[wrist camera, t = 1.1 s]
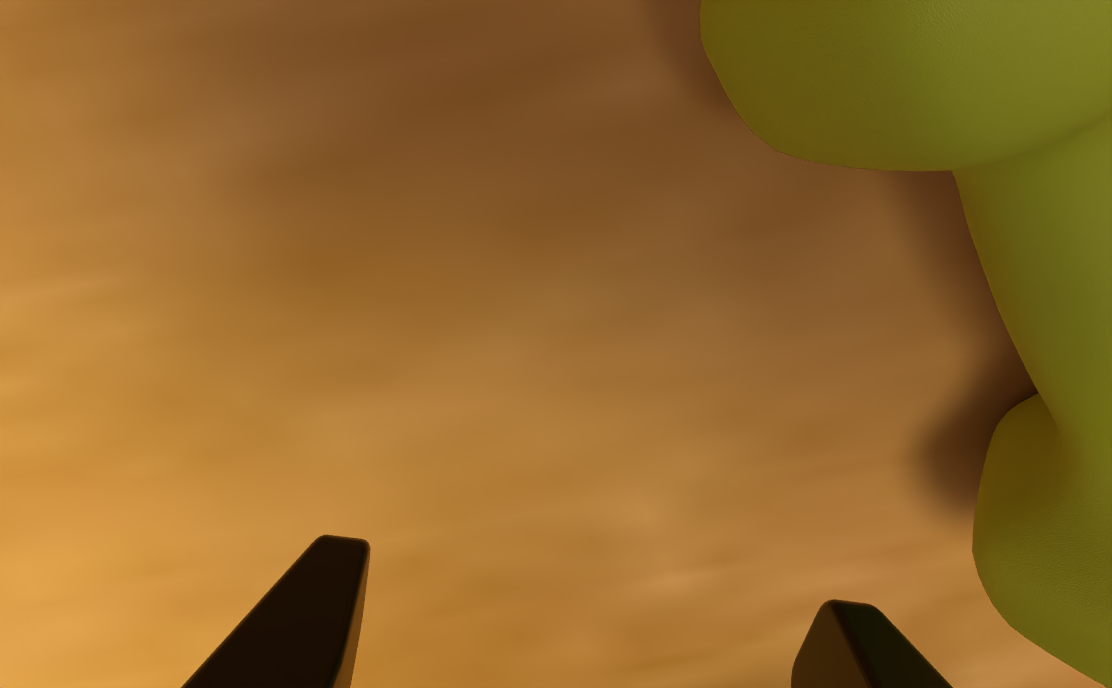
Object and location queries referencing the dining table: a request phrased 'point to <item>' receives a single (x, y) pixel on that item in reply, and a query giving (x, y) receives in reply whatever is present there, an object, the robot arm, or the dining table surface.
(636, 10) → the dining table surface
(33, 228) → the dining table surface
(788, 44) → the dumbbell
